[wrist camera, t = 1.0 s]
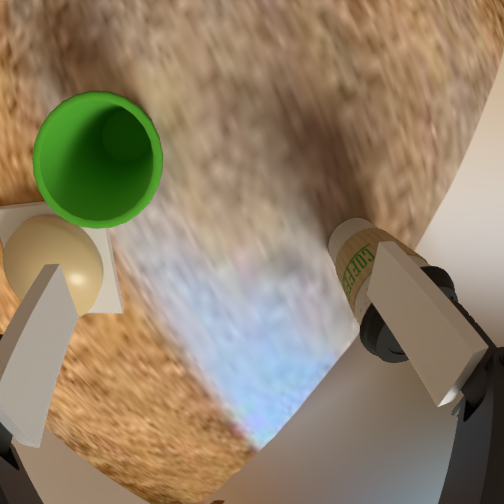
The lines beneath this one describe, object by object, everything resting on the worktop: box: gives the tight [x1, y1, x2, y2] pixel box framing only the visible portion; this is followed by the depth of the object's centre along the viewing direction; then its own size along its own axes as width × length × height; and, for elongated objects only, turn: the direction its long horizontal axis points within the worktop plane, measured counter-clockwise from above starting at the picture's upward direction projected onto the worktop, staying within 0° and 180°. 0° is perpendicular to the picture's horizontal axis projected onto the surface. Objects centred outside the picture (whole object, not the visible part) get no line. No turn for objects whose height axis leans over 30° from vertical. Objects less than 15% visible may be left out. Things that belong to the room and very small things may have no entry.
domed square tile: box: [0, 201, 124, 317], centre depth 30 cm, size 14×14×4 cm
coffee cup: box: [328, 218, 458, 363], centre depth 30 cm, size 10×10×15 cm
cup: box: [32, 91, 163, 229], centre depth 22 cm, size 9×9×11 cm
